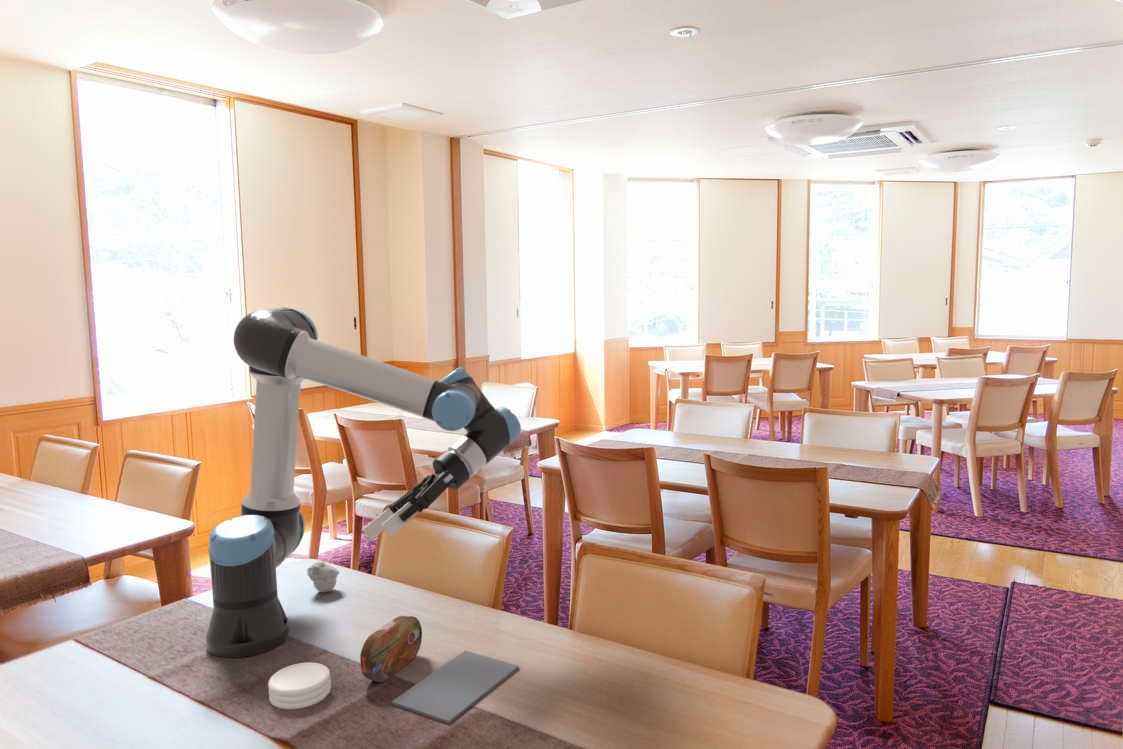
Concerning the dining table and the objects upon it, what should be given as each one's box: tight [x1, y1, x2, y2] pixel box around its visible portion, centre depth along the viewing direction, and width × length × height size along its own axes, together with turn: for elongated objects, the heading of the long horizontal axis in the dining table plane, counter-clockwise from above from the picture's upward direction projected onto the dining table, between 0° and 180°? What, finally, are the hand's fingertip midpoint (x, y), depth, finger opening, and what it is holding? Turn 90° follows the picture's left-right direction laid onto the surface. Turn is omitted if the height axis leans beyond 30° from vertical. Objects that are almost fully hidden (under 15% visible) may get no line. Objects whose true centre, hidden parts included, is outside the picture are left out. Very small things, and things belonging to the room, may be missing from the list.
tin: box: [359, 615, 423, 683], centre depth 139 cm, size 15×3×8 cm, turn 155°
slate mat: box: [391, 650, 519, 725], centre depth 133 cm, size 12×20×1 cm, turn 150°
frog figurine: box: [306, 560, 340, 593], centre depth 174 cm, size 6×7×7 cm
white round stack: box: [267, 662, 332, 710], centre depth 131 cm, size 10×10×4 cm
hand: (375, 533), depth 145 cm, fingers open, 13 cm apart
